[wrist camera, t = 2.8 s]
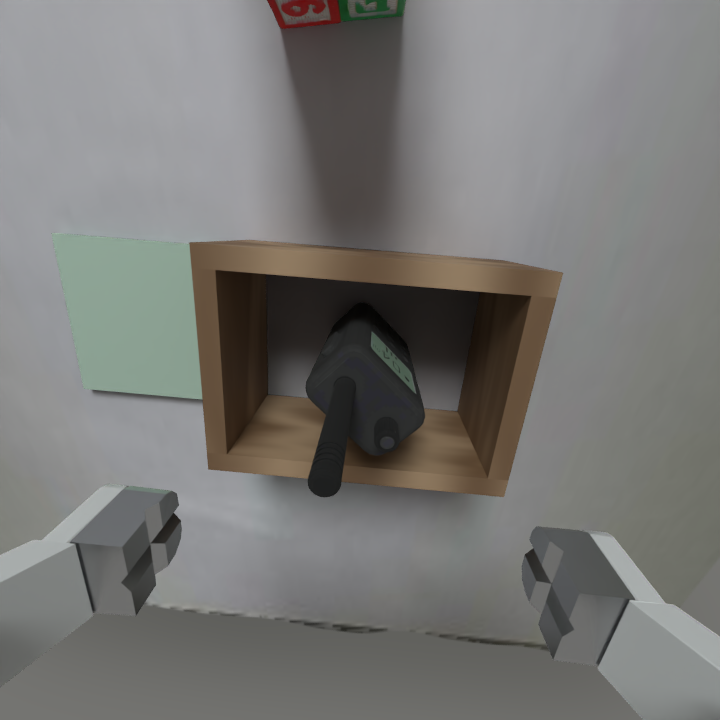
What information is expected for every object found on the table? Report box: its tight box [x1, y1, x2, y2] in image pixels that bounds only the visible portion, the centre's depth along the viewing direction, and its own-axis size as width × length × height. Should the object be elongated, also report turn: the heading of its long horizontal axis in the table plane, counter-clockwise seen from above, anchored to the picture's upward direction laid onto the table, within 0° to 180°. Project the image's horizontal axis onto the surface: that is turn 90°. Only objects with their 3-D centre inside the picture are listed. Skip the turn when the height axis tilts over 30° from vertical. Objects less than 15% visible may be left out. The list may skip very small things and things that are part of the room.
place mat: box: [51, 233, 202, 399], centre depth 23 cm, size 10×10×1 cm
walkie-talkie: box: [306, 303, 425, 497], centre depth 16 cm, size 5×3×15 cm
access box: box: [189, 240, 563, 497], centre depth 19 cm, size 15×11×7 cm
